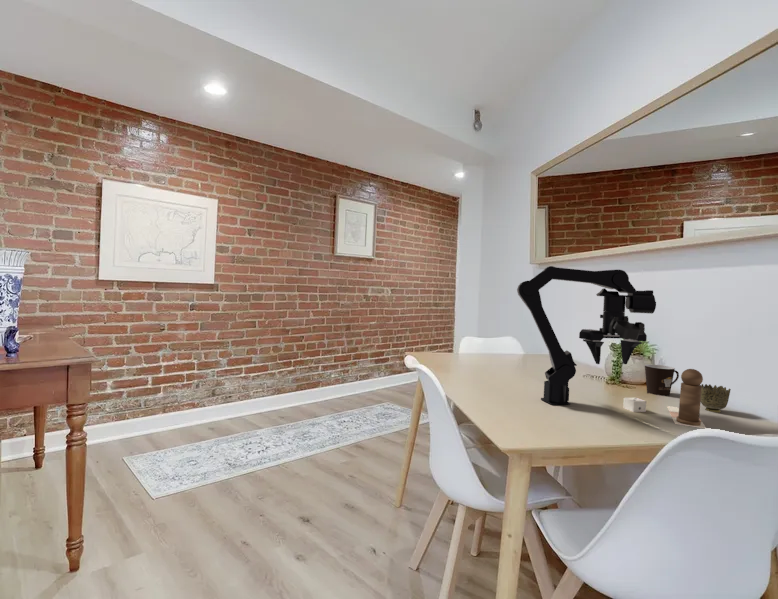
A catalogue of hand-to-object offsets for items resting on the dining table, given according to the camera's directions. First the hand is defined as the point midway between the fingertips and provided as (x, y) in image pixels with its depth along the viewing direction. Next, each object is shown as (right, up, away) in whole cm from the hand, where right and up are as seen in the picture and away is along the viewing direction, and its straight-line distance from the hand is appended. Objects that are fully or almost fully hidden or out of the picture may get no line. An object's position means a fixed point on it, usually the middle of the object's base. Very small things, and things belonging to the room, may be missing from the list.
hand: (611, 364), depth 126 cm
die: (+4, -13, -5) cm, 15 cm away
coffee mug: (+27, -14, +18) cm, 35 cm away
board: (+15, -14, -10) cm, 23 cm away
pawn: (+12, -13, -16) cm, 24 cm away
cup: (+28, -14, -2) cm, 32 cm away
